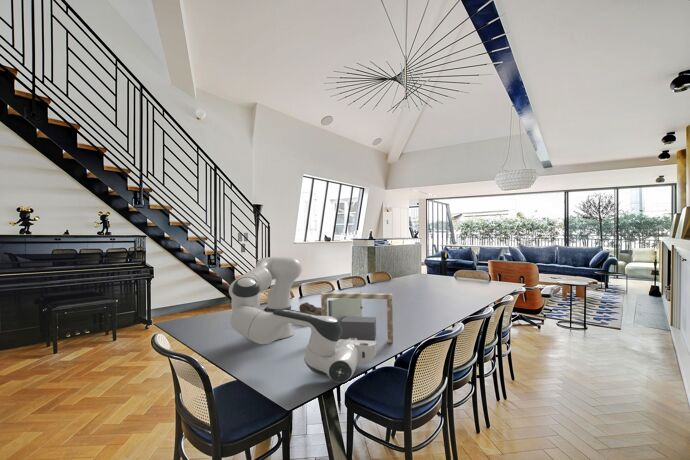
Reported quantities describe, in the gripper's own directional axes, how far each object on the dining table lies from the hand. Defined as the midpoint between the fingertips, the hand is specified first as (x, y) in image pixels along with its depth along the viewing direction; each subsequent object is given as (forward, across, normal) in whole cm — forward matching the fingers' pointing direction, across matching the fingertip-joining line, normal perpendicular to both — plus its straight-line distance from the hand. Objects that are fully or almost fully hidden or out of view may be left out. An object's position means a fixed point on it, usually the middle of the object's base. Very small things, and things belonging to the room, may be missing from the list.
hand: (353, 339), depth 126 cm
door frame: (+19, 0, -7) cm, 20 cm away
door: (+30, -8, -6) cm, 32 cm away
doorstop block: (+23, -1, -7) cm, 24 cm away
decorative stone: (+48, -31, -7) cm, 58 cm away
